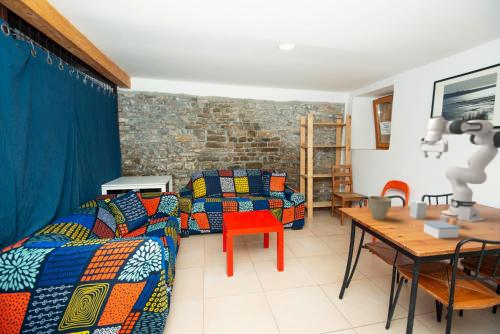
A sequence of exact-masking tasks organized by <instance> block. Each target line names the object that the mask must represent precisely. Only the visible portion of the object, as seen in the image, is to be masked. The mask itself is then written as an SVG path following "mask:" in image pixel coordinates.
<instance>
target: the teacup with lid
mask: <svg viewBox="0 0 500 334" xmlns="http://www.w3.org/2000/svg"><path fill="white" fill-rule="evenodd" d="M449 219H456V220H457V221H458V220H459V219H460V222H459V223H457V224H455V225H456V226H460V225H462V224H463V220H462V219H461V218H458V214H457V213H454V212H453V211H452V210H451V209H449V208H448V209H447V210H442V211H441V212H440V220H439V221H445V222H448V223H449Z"/></svg>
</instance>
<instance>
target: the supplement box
mask: <svg viewBox="0 0 500 334" xmlns="http://www.w3.org/2000/svg"><path fill="white" fill-rule="evenodd" d="M427 203H428V202H424V201H422V200H410V206H409V217H410V218H411V217H412V218H413V219H417V220H425V219H426V216H427V214H426V213H427V205H428V204H427Z"/></svg>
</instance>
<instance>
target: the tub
mask: <svg viewBox="0 0 500 334" xmlns="http://www.w3.org/2000/svg"><path fill="white" fill-rule="evenodd" d="M423 233H425V234H428V235H429V236H432V237H434V238H436V239H452V238H459V233H460V228H457V229H437V228H435V227H432V226H430V225H428V224H425V223H423Z"/></svg>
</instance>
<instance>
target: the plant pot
mask: <svg viewBox="0 0 500 334" xmlns="http://www.w3.org/2000/svg"><path fill="white" fill-rule="evenodd" d="M391 203H392V199H391V197H390V198H389V197H386V196H382V195H369V196H368V204H369V205H368V206H369V209H370V214H371V216H372V218H373V220H376V221H383V220H385V219H386V217H387V214H388V212H389V209H390V207H391Z"/></svg>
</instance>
